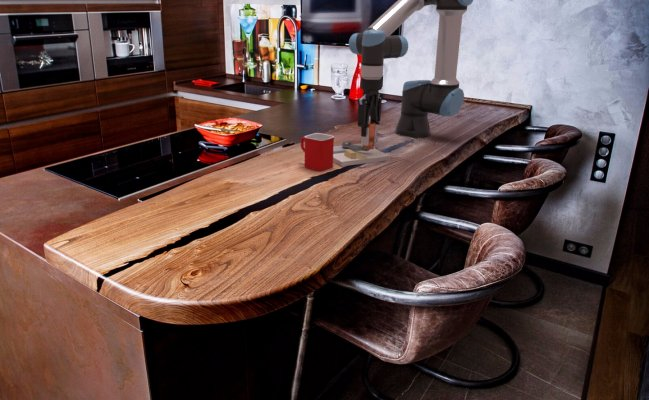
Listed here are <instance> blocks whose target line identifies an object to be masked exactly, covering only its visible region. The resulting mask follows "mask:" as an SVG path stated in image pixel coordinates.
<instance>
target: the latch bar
mask: <svg viewBox="0 0 649 400" xmlns="http://www.w3.org/2000/svg"><path fill="white" fill-rule="evenodd" d="M375 125H376V123H374V122H368V127H369V141H368V146H365V145H363V146H360V145H354V144H355V143H351V141H349V140H348V141H347V140H345V141H342V143H341V146H342V147H343V148H350V149H356V150H361V151H369V150H370V149H375V143H374V141H375Z"/></svg>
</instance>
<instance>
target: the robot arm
mask: <svg viewBox="0 0 649 400" xmlns="http://www.w3.org/2000/svg"><path fill="white" fill-rule="evenodd" d="M473 2H474V0H397V1H395V2H394V3H393V4H392V5H391V6H390V7H389V8H388V9H387V10H386V11H385V12H384V13H383V14H381V15H380V16H379V17H378V18H377V19H376V20H375V21H374V22H373V23H371V25H369V26H368V27H367V28H366V29H365V30H364V31H363V32H356V33H353V34H352V35H351V36H350V38H349V40H348V47H349V50H350V52H351V53H352V54H355V55H359V56H361V62H360V63H361V66H360V77H361V78H360V81H359V82H360V83H359V84H360V85H359V86H360V89H361V90H362V97H361V98H359V97H358V98H357V104H358V106H357V107H358V108H357V126H358V127H359V128H361V129H360V130H361V131H360V132H361V133H360V143H361V145H365V146H368V141H369V127H368V122H369V116H370V122H374V123H376V125H375V141H374V144H375V143H376V142H377V139H376V126H377V125H379V126H380V124H381V123H380V122H381V121H380V119H382V118H381V117H382V104H383V103H382V102H383V97H384V94H383V93H380V91H381V90H382V89H383V75H384V60H385V59H386V60H387V59H398V58H402V57H404V56H405V55H406V54H407V53H408V51H409V41H408V40H407V38H406V37H405V36H403V35H399V34H398V35H396V34H395V35H392V34H393V33H394V32H395V31H396V30H397V29H398V28H399V27H400V26H401V25H403V23H404V22H406V20H407V19H409V18H410V17H411V16H412V15H413V14H414V13H415V12H418V11H421V10H422V9H423V8H424V7H427V6H435V11H436V12H437V13H438V15H439V17H438V18H439V19H438V29H437V40H436V41H437V42H436V54H435V66H434V67H435V68H434V77H433V78H432V79H431V80H429V79H418V80H417V79H415V80H408V81H405V82H404V83H403V84H402V85H403V87H402V91H401V93H402V95H401V105H400V106H401V107H400V108H401V109H400V116H399V119H398V121H397V124H396V126H395V134H396V135H398V136H401V137H407V138H426V137H429V136H430V135H431V128H430V123H429V122H430V121H429V117H428V116H429V114H434V115H439V116H441V117H453V116H455V115H456V114H458V113H459V112H460V110H461V108H462V106H463V104H464V100H465V93H464V90H463V89H461V88H460V81H459V80H458V79H457V72H458V63H459V53H460V45H461V44H460V42H461V33H462V22H463V16H464V14H465V13H466V12H467V10H468V6H470V5H471V4H472V3H473Z"/></svg>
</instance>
